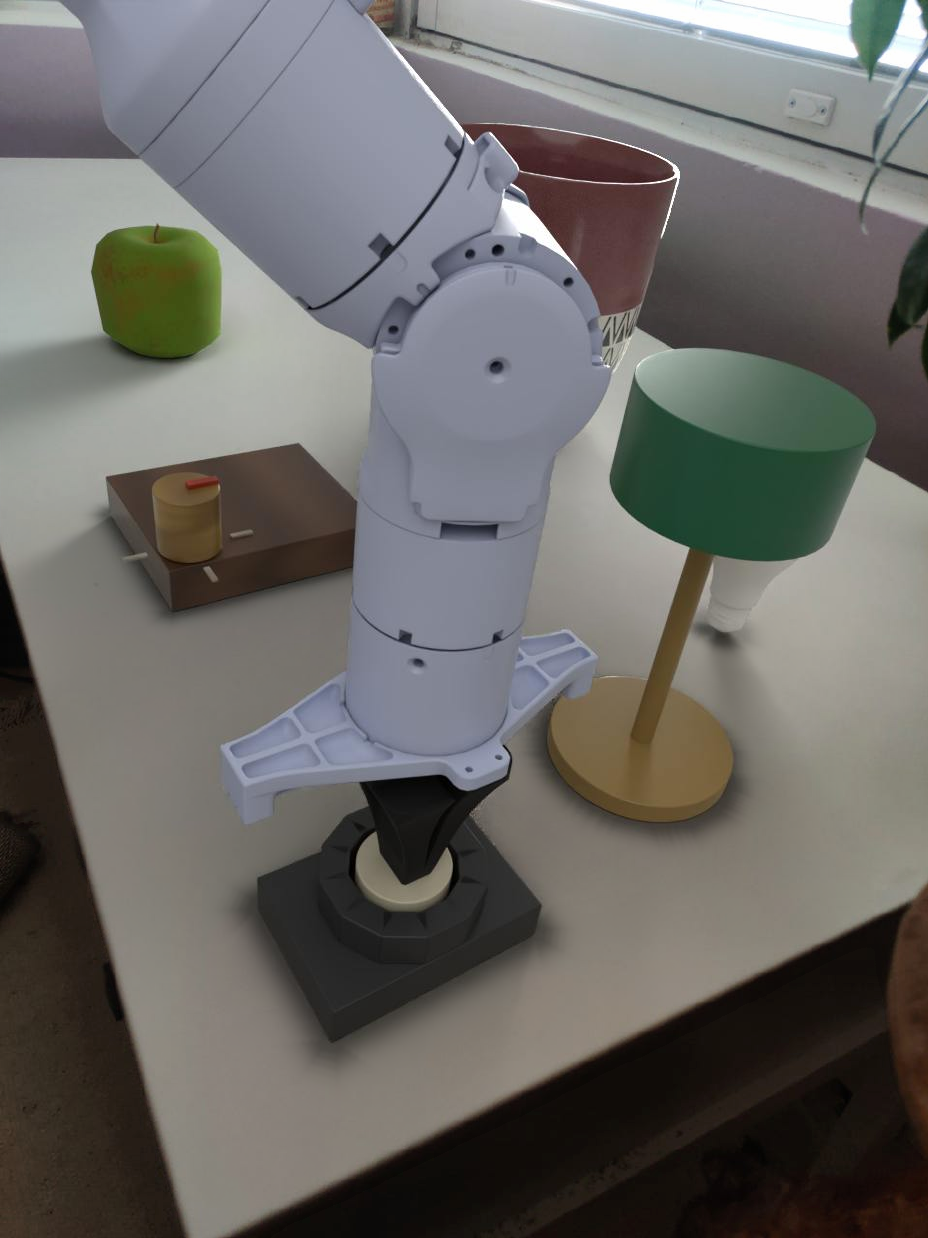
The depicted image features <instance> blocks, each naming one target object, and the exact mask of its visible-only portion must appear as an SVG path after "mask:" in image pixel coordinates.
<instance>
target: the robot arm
mask: <svg viewBox="0 0 928 1238" xmlns="http://www.w3.org/2000/svg"><path fill="white" fill-rule="evenodd" d="M375 1H377V0H57V2H59V3H60V4H61V5H62V6H63V7H64V8H66V9H67V10H68V11H69V12H70V13H71V14H72V15H73V16H75V18H76V19H77V20H79V22H80V24H81V25H82V27H83V30H84V32H85V35H86V37H87V41H88V43H89V48H90V51H91V55H92V60H93V65H94V68H95V74H96V81H97V86H98V88H97V89H98V94H99V101H100V106H101V112H102V116H103V119H104V123H105V125H106V127H107V129H108V130H109V131H110V133H111V134H113V135H114V136H115V137H116V138H117V139H118V140H119V141H121V142H122V143H123V144H124V146H126V147H127V148H129V150H131V151H132V152H133V153H134V154H135V155H136V156H137V157H138V158H139V159H140V160H141V161H142V162H143V163H144V164H145V165H146V166H148V167H149V168H150V169H151V170H152V171H153V172H154V173H155V174H156V175H157V176H158V177H159V178H160V179H162V181H164V182H165V183H166V184H167V185H168V186H169V187H171V189H172V190H174V192H176V193H177V194H178V195H179V196H180V197H181V198H183V199H184V200H185V202H187V203H188V204H189V205H190V207H192V208H193V209H194V210H195V211H196V212H197V213H199V214H200V215H201V216H202V217H203V218H204V219H205V220H206V221H207V222H208V223H209V224H210V225H212V226H213V227H214V228H215V229H216V231H218V232H219V233H220V234H221V235H223V237H224V238H226V239H227V240H228V241H229V242H230V243H231V244H232V245H233V246H234V247H236V248H237V249H238V250H239V251H240V252H241V253H242V254H243V255H244V256H245V257H246V258H248V260H249V261H251V262H252V263H253V264H254V265H255V266H256V267H257V268H258V269H259V270H261V271H262V272H263V273H264V274H265V275H266V276H267V277H268V278H269V279H270V280H271V281H272V282H274V283H275V284H276V285H277V286H278V287H279V288H280V289H281V290H282V291H284V293H286V294H287V295H288V296H289V297H290V298H291V299H292V300H294V302H295V303H296V304H297V305H298V306H300V307H301V308H302V309H303V310H304V311H305V312H306V313H307V314H308V315H309V316H310V317H311V318H312V319H314V320H315V321H316V322H317V323H318V324H320V325H322V326H323V327H325V328H327V329H329V330H331V331H334V332H337V333H339V334H341V335H344V336H346V337H348V338H350V339H351V340H354V341H356V342H357V343H358V344H360V345H361V346H363V347H364V348H366V349H368V350H371V349H372V350H371V351H372V356H373V357H372V358H371V362H370V363H371V364H370V372H371V373H370V374H371V390H370V405H369V419H368V422H369V423H368V437H367V444H366V446H365V450H364V451H363V452H362V453H363V454H362V455H361V458H360V459H361V460H360V464H359V467H358V481H357V496H356V497H357V499H356V500H357V513H356V529H355V546H354V563H353V566H352V583H351V595H350V596H351V597H350V613H349V626H348V627H349V628H348V644H347V662H346V669H344V670H343V671H341V672H339V674H337V675H336V676H334V677H332V679H330V680H328V681H327V682H325V683H324V684H323V685H321V686H320V687H318V688H317V689H316V690H314V691H312V692H311V693H310V694H308V695H307V696H305V697H304V698H302V699H301V700H300V701H298V702H297V703H295V704H293V705H292V706H291V707H289V708H288V709H287V710H285V711H284V712H282V713H281V714H280V715H278V716H277V717H275V718H273V719H272V720H270V721H269V722H268V723H265V724H264V725H262V726H261V727H259V728H257V729H255V730H254V731H252V732H250V733H248V734H246V735H244V736H242V737H241V736H240V737H238V738H236V739H234V740H231V741H228V742H226V743H223V744H220V746H219V755H220V776H221V787H222V789H223V790H224V792H225V793H226V796H227V797H228V799H229V802H230V803H231V805H232V806H233V808H234V810H235V812H236V813H237V815H238V816H239V818H240V819H241V821H242V823H243V825H245V826H249V825H252V824H254V823H257V822H259V821H261V820H264V819H267V818H270V817H271V816H272V815H273V814H274V812H275V799H276V798H279V797H281V796H284V795H286V794H289V793H292V792H295V791H297V790H300V789H302V788H310V787H319V786H320V787H321V786H331V785H343V784H353V783H358V784H359V786H360V788H361V790H362V793H363V794H364V797H365V800H366V802H367V806H369V808H370V811H371V814H372V817H373V821H374V824H375V828H376V833H377V838H378V844H379V850H380V854H381V855H382V857H383V858H384V860H385V861H386V862H387V864H388V865H389V867H390V868H391V870H392V871H393V873H394V874H395V876H396V877H397V878H398V880H399V881H400V883H401V884H402V885H407V884H410V883H412V882H414V881H416V880H418V879H420V878H422V877H425V876H427V875H429V874H431V872H432V871H433V869H434V868H435V866H436V865H437V863H438V861H439V860H440V858H441V856H442V854H443V853H444V851H445V849H446V848H447V846H448V844H449V843H450V841H451V840H452V838H453V836H454V835H455V833H456V832H457V830H458V829H459V827H460V826H461V824H462V823H463V822H464V820H465V819H466V818H467V817H468V816H469V815H471V813H472V812H473V811H474V810H475V809H476V808H477V807H478V806H479V805H480V804H481V803H482V802H483V800H485V799H487V797H488V796H489V795H490V794H492V793H493V792H494V791H496V789H498V788H499V787H501V786H502V785H504V784H505V783H506V782H508V781H509V780H510V776H511V771H512V767H513V760H514V758H513V755H512V752H511V750H510V749H509V748H508V747H507V745H505V744H506V743H507V742H508V741H509V740H510V739H511V738H512V737H514V735H516V734H517V733H518V732H519V731H520V730H521V729H522V728H523V727H524V726H525V725H526V724H528V722H530V720H532V719H533V718H534V717H535V716H536V715H537V714H538V713H539V712H540V711H542V709H543V708H545V707H546V706H547V705H548V704H549V703H550V702H551V701H552V700H553V699H555V697H556V696H557V695H559V694H561V696H562V695H563V696H565V697H566V698H568V699H575V698H578V697H580V696H583V695H585V694H588V693H589V691H590V687H591V684H592V680H593V679H594V676H595V672H596V668H597V664H598V661H599V656H598V655H597V654H596V653H595V652H594V651H593V650H591V648H589V646H588V645H586V644H585V643H584V642H583V641H582V640H581V639H580V638H579V637H577V636H576V635H575V634H574V633H573V632H572V631H571V630H570V629H568V628H565V629H562V630H559V631H554V632H550V633H546V634H540V635H531V636H522V635H523V629H524V625H525V620H526V615H527V611H528V607H529V601H530V597H531V591H532V587H533V581H534V577H535V571H536V568H537V567H536V566H537V562H538V557H539V553H540V552H539V551H540V548H541V547H540V546H541V542H542V537H543V531H544V527H545V522H546V518H547V517H546V516H547V512H548V508H549V502H550V497H551V490H552V489H551V488H552V487H551V482H552V478H553V477H552V476H553V471H554V467H555V466H554V465H555V463H556V456H557V454H558V453H559V452H560V451H561V450H562V449H563V448H565V446H566V445H568V444H570V442H571V441H572V440H573V439H575V437H577V435H578V434H580V432H582V430H583V429H584V428H585V427H586V426H587V425H588V423H589V422H590V421H591V419H592V418H593V416H594V415H595V413H596V412H597V410H598V409H599V407H600V406H601V404H602V401H603V400H604V398H605V395H606V393H607V390H608V388H609V385H610V382H611V379H612V376H613V375H612V370H611V368H610V367H609V366H607V365H603V363H604V362H603V360H602V358H601V357H602V346H603V332H602V330H601V329H600V327H599V324H598V318H600V317H601V315H600V311H599V307H598V304H597V301H596V299H595V297H594V295H593V293H592V290H591V288H590V286H589V284H588V283H587V282H586V280H585V279H584V278H583V276H582V275H581V273H580V272H579V271H578V269H577V268H576V267H575V265H574V264H573V263H572V262H571V260H570V259H569V258H568V256H567V255H566V254H565V252H564V251H563V250H562V249H561V247H560V246H559V245H558V243H557V242H556V241H555V240H554V238H553V237H552V236H551V234H550V233H549V232H548V230H547V229H546V228H545V226H544V225H543V224H542V222H541V221H540V220H539V219H538V217H537V216H536V215H535V214H534V213H533V212H532V211H531V210H530V206H529V201H528V198H527V196H526V195H525V193H524V192H523V191H522V190H520V189H519V188H517V187H516V186H514V185H512V184H511V183H512V182H513V181H514V180H515V179H516V178H517V176H518V173H519V168H518V166H517V164H516V163H515V161H514V160H513V159H512V158H511V156H510V155H509V154H508V153H507V152H506V150H505V149H504V148H503V147H502V145H501V144H500V143H499V142H498V140H497V139H496V138H495V137H494V136H493V135H492V133H490V132H485V133H484V134H482V135H481V136H480V137H479V138H478V139H477V140H476V141H475V142H473V141H472V140H471V138H470V137H469V136H468V135H467V134H466V132H465V131H464V130H462V128H461V127H460V125H459V124H460V123H458V122H457V120H456V119H455V118H454V117H453V115H452V114H451V113H450V112H449V111H448V109H447V108H446V107H445V106H444V105H443V104H442V102H441V101H440V100H439V98H437V96H436V95H435V94H434V92H433V91H432V90H431V89H430V87H428V85H427V84H426V83H425V82H424V81H423V80H422V78H421V77H420V76H419V74H417V72H416V71H415V69H413V67H412V66H411V64H409V63H408V62H407V60H406V59H405V58H404V56H403V55H402V54H401V53H400V52H399V50H398V49H397V48H396V47H395V46H394V45H393V43H392V42H391V41H390V40H389V39H388V37H387V36H386V35H385V33H384V32H383V31H382V30H381V29H380V27H379V26H378V25H377V24H376V23H375V22H374V20H373V19H372V18H371V17H370V16H369V14H368V13H367V11H368V10H370V8H371V7H372V5H374V3H375Z"/></svg>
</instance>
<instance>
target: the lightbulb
mask: <svg viewBox="0 0 928 1238" xmlns="http://www.w3.org/2000/svg"><path fill="white" fill-rule="evenodd" d="M799 559H800V558H797V559H792V560H785V561H771V562H765V561H748V560H738V559H733V558H727V557H721V556H717V555H715V557H714V560H713V563H712V567H713V568H712V578H711V581H710V585H709V592H710V597H709V599H708V604H707V608H706V610H705V611H706V612H705V619H706V620H707V622H708V624H709V625H710V626H712V627H713V628H714V629H715V630H716V631H718V632H721V633H735V632H738V631H740V630H742V629H743V627H744V626H745V624H746V621H747V619H748V617H749V615H750V612H751V611H752V609H753V608H754V607H755V606H756V605H757V604H758V603H759V601H760V599H761V596H762V595H763V593H764V591H765V590H766V588H767V587H768V586H769V584H770V583H771V582H773V580H774V579H775V578H776V577H778V576H779V575H780V574H782V573H784V572H785V571H786V570H788V569H789V568H790V567H791V566H793V564H795V563H796V562H797V561H798V560H799Z"/></svg>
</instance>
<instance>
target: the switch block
mask: <svg viewBox="0 0 928 1238" xmlns="http://www.w3.org/2000/svg"><path fill="white" fill-rule="evenodd" d="M374 832H376V828H375V824H374V821H373V817H372V814H371V811H370V808H369V805H367V806H365V807H363V808H360V809H358V810H355V811H353V812H349V813H347V814H346V815H345V816H344V817H342V820H340V822H339V823H338V824H337V825H336V827H334V829H333V830H332V832H331V833H330V834H329V835H328V836H327V838H325V840H324V841H323V842H322V845H321V847H320V851H318V852H315V853H313V854H310V855H308V856H305V857H303V858H301V859H299V860H296V861H294V862H291V863H288V864H287V865H284V866H282V867H279V868H276V869H275V870H272V871H270V872H267V873H265V874H263V875H260V876H258V877H257V878H256V879H257V880H256V881H257V883H256V884H257V885H256V887H257V910H258V912H259V914H260V915H261V918H262V919H263V921H264V923H265V925H266V926H267V928H268V930H269V932H270V934H271V936H272V937H273V939H274V941H275V943H276V945H277V947H278V948H279V950H280V952H281V954H282V956H283V957H284V959H285V961H286V963H287V965H288V967H289V968H290V970H291V973H292V974H293V975H294V978H295V980H296V981H297V984H298V985H299V987H300V989H301V990H302V993H303V994H304V996H305V998H306V999H307V1002H308V1003H309V1005H310V1007H311V1009H312V1010H313V1013H314V1014H315V1016H316V1018H317V1020H318V1022H319V1023H320V1025H321V1026H322V1029H323V1032H324V1033H325V1034H326V1036H327V1039H328V1040H329V1042H330V1043H334V1042H335V1041H337V1040H339V1039H341V1038H343V1037H345V1036H347V1035H349V1034H351V1033H353V1032H354V1031H357V1030H358V1029H360V1028H362V1027H364V1026H366V1025H368V1024H370V1023H371V1022H374V1021H375V1020H377V1019H379V1018H381V1017H383V1016H384V1015H386V1014H388V1013H390V1012H392V1011H393V1010H396V1009H398V1008H399V1007H401V1006H403V1005H405V1004H407V1003H409V1002H411V1001H413V1000H414V999H416V998H418V997H420V996H422V995H423V994H426V993H428V992H429V991H431V990H433V989H435V988H437V987H439V986H440V985H443V984H445V983H446V982H448V981H450V980H452V979H453V978H456V977H457V976H459V975H461V974H464V973H465V972H467V971H468V970H470V969H473V968H474V967H476V966H478V965H480V964H481V963H484V962H485V961H487V960H489V959H490V958H493V957H495V956H497V955H498V954H501V953H502V952H504V951H506V950H508V949H510V948H511V947H513V946H515V945H517V944H519V943H521V942H522V941H525V940H526V939H528V938H530V937H532V936H534V934H535V932H536V927H537V925H538V921H539V917H540V914H541V910H542V907H543V904H542V902H541V901H540V900H539V899H538V898H537V897H536V896H535V894H534V893H533V891H532V890H531V889H530V887H528V885H527V884H526V883H525V882H524V881H523V879H522V878H521V877H520V875H519V874H518V873H517V872H516V870H515V869H514V868H513V866H512V865H511V864H510V863H509V862H508V860H507V859H506V858H505V857H504V855H503V854H502V853H501V852H500V850H499V849H498V848H497V847H496V845H495V844H494V843H493V842H492V841H491V839H490V838H489V837H488V835H486V833H485V832H484V831H483V829H482V828H481V827H480V826H479V824H478V823H477V822H476V821H475V819H474V818H473V817H472V815H471V814H469V816H468V817H467V818H466V819H465V820H464V822H463V823H462V824H461V826H460V827H459V829H458V830H457V832H456V833H455V835H454V836H453V838H452V840H451V841H450V843H449V844H448V846H447V848H448V850H449V852H450V854H451V858H452V863H453V871H452V876H451V882H450V887H449V893H448V897H447V899H446V900H444V901H442V902H440V903H438V904H436V905H434V906H432V907H430V908H428V909H426V910H424V911H422V912H395V911H388V910H386V909H384V908H382V907H380V906H378V905H376V904H374V903H372V902H370V901H368V900H366V899H364V898H363V896H362V895H361V893H360V892H359V890H358V889H357V887H356V886H355V884H354V879H355V866H356V857H357V853H358V850H359V848H360V846H361V845H362V843H363V842H364V841H365V840H366V839H367V838H368V837H369V836H370V835H371V834H373V833H374Z"/></svg>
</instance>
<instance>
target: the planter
mask: <svg viewBox="0 0 928 1238" xmlns="http://www.w3.org/2000/svg"><path fill="white" fill-rule="evenodd" d="M458 124H459V125H460V127H461V128H462V130H464V131H465V132H466V134H467V135H468V136H469V137H470V138H471V140H472V141H473V142H475V141H476V140H477V139H478V138H479V137H480V136H481V135H482V134H484V133H485V132H490V133H492V135H493V136H494V137H495V138H496V139H497V140H498V142H499V143H500V144H501V145H502V147H503V148H504V149H505V150H506V152H507V153H508V154H509V155H510V156H511V158H512V159H513V160H514V161H515V163H516V164H517V166H518V168H519V173H518V176H517V178H516V179H515V180H514V181H513V182H512V183H511V184H512V185H514V186H516V187H517V188H519V189H520V190H522V191H523V192H524V193H525V195H526V196H527V198H528V201H529V206H530V210H531V211H532V212H533V213H534V214H535V215H536V216H537V217H538V219H539V220H540V221H541V222H542V224H543V225H544V226H545V228H546V229H547V230H548V232H549V233H550V234H551V236H552V237H553V238H554V240H555V241H556V242H557V243H558V245H559V246H560V247H561V249H562V250H563V251H564V252H565V254H566V255H567V256H568V258H569V259H570V260H571V262H572V263H573V264H574V265H575V267H576V268H577V269H578V271H579V272H580V273H581V275H582V276H583V278H584V279H585V280H586V282H587V283H588V284H589V286H590V288H591V290H592V293H593V295H594V297H595V299H596V301H597V304H598V307H599V311H600V315H601V317H600V318H598V324H599V327H600V329H601V330H602V332H603V346H602V357H601V358H602V360H603V362H604V363H603V365H607V366H609V367H610V368H611V370H612V376H613V375H614V374H615V372H616V370H617V369H618V367H619V365H620V364H621V361H622V360H623V358H624V356H625V353H626V351H627V349H628V347H629V345H630V343H631V340H632V337H633V335H634V332H635V329H636V325H637V322H638V320H639V317H640V312H641V309H642V306H643V302H644V300H645V296H646V292H647V289H648V287H649V283H650V281H651V280H650V279H651V276H652V273H653V269H654V266H655V263H656V259H657V255H658V252H659V248H660V244H661V241H662V238H663V235H664V232H665V229H666V225H667V221H668V219H669V216H670V213H671V208H672V205H673V202H674V198H675V195H676V190H677V187H678V184H679V181H680V180H679V179H680V171H679V169H678V167H677V166H676V165H675V164H673V163H672V162H670V161H669V160H667V159H665V158H663V157H661V156H659V155H657V154H654V153H652V152H650V151H647V150H644V149H643V148H642V149H641V148H640V147H639V148H638V147H635V146H632V145H629V144H625V143H622V142H618V141H614V140H610V139H607V138H602V137H598V136H594V135H588V134H583V133H578V132H573V131H567V130H561V129H560V130H559V129H555V128H547V127H542V126H541V127H539V126H532V125H524V124H523V125H522V124H521V125H520V124H511V123H491V122H489V123H488V122H487V123H486V122H485V123H484V122H475V123H474V122H473V123H458Z"/></svg>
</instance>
